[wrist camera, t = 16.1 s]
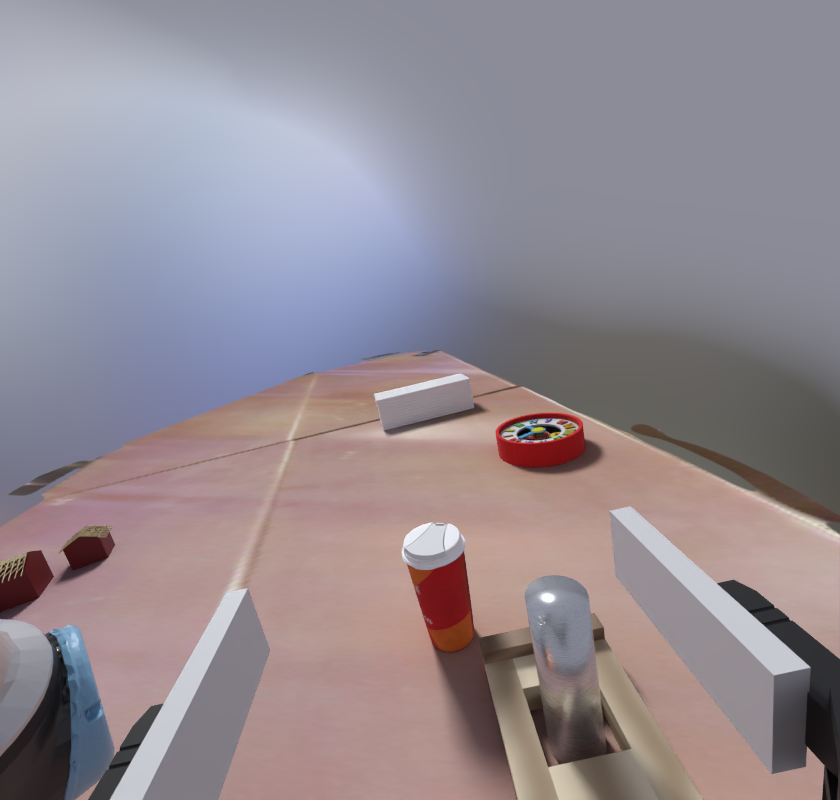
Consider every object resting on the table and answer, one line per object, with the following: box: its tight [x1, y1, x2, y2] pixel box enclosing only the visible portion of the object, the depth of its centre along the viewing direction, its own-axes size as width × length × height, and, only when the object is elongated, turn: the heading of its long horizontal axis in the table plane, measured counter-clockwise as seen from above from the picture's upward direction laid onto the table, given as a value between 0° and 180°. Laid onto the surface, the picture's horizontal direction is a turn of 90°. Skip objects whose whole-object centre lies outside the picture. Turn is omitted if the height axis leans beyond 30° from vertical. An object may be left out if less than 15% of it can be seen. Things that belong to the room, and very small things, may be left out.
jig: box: [479, 613, 703, 800], centre depth 38 cm, size 13×18×4 cm
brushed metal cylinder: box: [525, 575, 606, 764], centre depth 36 cm, size 5×5×16 cm
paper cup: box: [402, 523, 474, 652], centre depth 51 cm, size 8×8×14 cm
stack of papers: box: [374, 374, 475, 431], centre depth 144 cm, size 32×11×11 cm, turn 101°
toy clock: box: [496, 413, 585, 467], centre depth 100 cm, size 20×6×20 cm
